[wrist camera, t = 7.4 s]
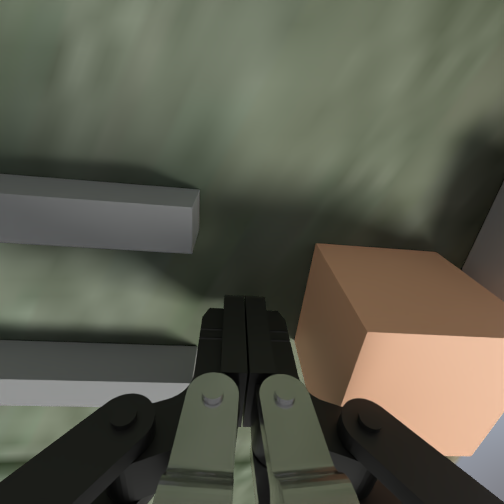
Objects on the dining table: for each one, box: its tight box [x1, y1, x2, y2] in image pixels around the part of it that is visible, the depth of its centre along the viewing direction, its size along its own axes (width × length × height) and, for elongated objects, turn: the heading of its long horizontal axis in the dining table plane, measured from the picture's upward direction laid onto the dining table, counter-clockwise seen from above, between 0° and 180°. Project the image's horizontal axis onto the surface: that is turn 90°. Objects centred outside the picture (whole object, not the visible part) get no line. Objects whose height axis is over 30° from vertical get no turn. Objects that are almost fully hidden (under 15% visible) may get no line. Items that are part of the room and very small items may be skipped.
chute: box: [0, 174, 200, 407], centre depth 11 cm, size 9×12×2 cm
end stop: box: [461, 182, 504, 302], centre depth 12 cm, size 12×1×3 cm, turn 175°
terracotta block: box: [294, 243, 504, 456], centre depth 11 cm, size 5×5×5 cm
